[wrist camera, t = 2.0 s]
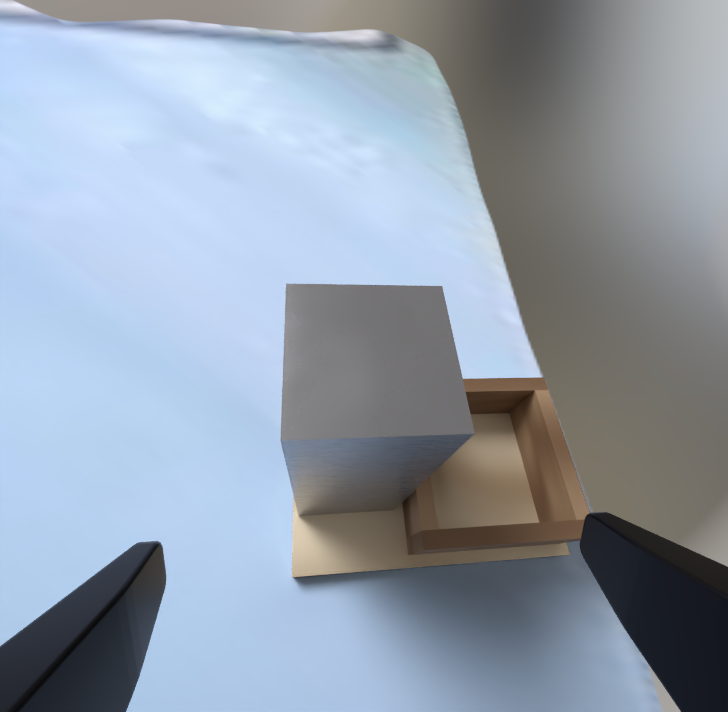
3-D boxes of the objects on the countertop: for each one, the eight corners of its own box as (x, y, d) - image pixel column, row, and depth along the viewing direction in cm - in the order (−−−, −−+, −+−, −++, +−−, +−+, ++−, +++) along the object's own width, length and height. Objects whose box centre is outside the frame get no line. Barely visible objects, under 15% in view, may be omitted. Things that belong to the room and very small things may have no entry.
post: (393, 510, 19) (474, 433, 9) (298, 516, 18) (280, 440, 9) (384, 421, 21) (441, 286, 11) (299, 423, 20) (286, 283, 11)
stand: (563, 555, 19) (611, 549, 16) (292, 577, 17) (287, 575, 14) (517, 397, 23) (548, 368, 20) (295, 402, 21) (292, 372, 18)
